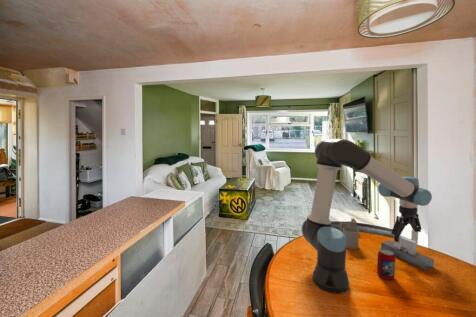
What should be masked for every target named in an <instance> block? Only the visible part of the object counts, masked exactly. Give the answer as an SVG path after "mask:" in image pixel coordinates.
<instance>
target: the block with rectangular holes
mask: <svg viewBox="0 0 476 317" xmlns="http://www.w3.org/2000/svg"><path fill="white" fill-rule="evenodd" d="M380 249H388V250H391V251H392V252H393V253H394V255H395V258H398V259H401V260H403V261H404V262H407V263H409V264H411V265H413V266H415V267H417V268H419V269H421V270H423V271H427V270H429V269H432V268H435V267H434V266H435V259H434V258H432V257H429V256H427V255H424V254H422V253H420V252H416V256H413V255H410V254H408V251H409V249H407V248H404V247H403V249H402V250H399V249H397V248H395V246H394V241H392V240H387V241H381V243H380Z"/></svg>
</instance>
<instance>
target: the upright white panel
mask: <svg viewBox="0 0 476 317" xmlns="http://www.w3.org/2000/svg"><path fill="white" fill-rule="evenodd" d="M400 236H401V248H400V249H399V248H397V247H395V248H397V249H399V250H402V249H403V247H404V248H407V249H409V251H408V254H410V255H413V256H416V252H417V247H418V244H417V241H414V240H411V238H409V237H406V236H403V235H402V234H401V235H400Z"/></svg>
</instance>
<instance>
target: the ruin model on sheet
mask: <svg viewBox="0 0 476 317" xmlns="http://www.w3.org/2000/svg"><path fill="white" fill-rule="evenodd" d="M338 224H339V225H338V227H339V228H338V230H340V231H341V232H342V233H343V228H344V227H354V228H356V229H358V228H357V227H358V226H357V225H358V223H357V220H356V219H355V218H350V221H342V222H338Z"/></svg>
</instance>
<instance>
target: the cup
mask: <svg viewBox="0 0 476 317" xmlns="http://www.w3.org/2000/svg"><path fill="white" fill-rule="evenodd" d="M359 231H360V230H359V229H358V228H357V229H356V228H354V227H344V228H343V234H344V235H345V237H346V244H347V246H346V249H352V250H354V249H358V248H359V239H360V238H359V237H360V232H359Z"/></svg>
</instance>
